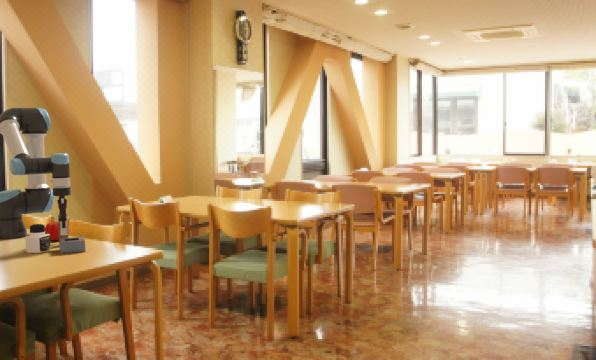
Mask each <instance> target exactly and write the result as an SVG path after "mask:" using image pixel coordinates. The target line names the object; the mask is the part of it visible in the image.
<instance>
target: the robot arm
mask: <svg viewBox="0 0 596 360" xmlns="http://www.w3.org/2000/svg"><path fill="white" fill-rule="evenodd" d="M51 123H52V122H51V117H50V115H49V113H48V111H47V110H46V109H45V108H41V107H40V108H39V107H11V108H8V109H6V110H4V111H2V113H1V114H0V134H1V135H2V137H3V139H4V142H5V144H6V147H7V149H8V152H9V153H10V157H11V159H10V160H9V170H10V173H11V174H12V175H14V176H26V175H27V184H26V185H25V187H24V191H22V190H21V189H20V188H15V189H14V188H13V189H7V190H2V191H0V239H1V240H3V239H4V240H5V239H16V238H23V237H26V236H27V235H28V230H27V228H26V226H25V223H24V221H23V215H31V214H43V213H48V212H50V211H51V210H52V209H53V207H54V204H55V203H54V202H55V197H58V199H57V202H56V203H57V207H58V209H59V215H60V219H59V221H60V228H61V235H67V218H66V215H67V216H68V214H67V207H68V205H67V204H68V200H67V198H65V197H67V196H68V197H69V196H71V194H72V193H71V192H72V191H71V187H70V186H71V172H70V170H71V169H70V155H69V154H68V153H64V152H63V153H62V152H61V153H52V154H51V156H48V157H45V156H46V153H45V137H46V136H47V134H48V132H50V130H51V127H52V126H51ZM23 137H24V138H23ZM24 139H25V141H24ZM47 174H48V175H49V174H51V178H52V179H51V180H50V182H51V183H52V189H50V187H51V186H49V184H48V183H47Z"/></svg>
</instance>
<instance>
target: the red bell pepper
mask: <svg viewBox="0 0 596 360" xmlns="http://www.w3.org/2000/svg"><path fill="white" fill-rule="evenodd" d="M44 234H50V241H59V226H58V221H52V222H51V223H50V222H49V223H47V224H46V225H45V233H44Z"/></svg>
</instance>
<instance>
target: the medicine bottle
mask: <svg viewBox="0 0 596 360" xmlns="http://www.w3.org/2000/svg"><path fill="white" fill-rule="evenodd" d="M45 227H46V225H45V224H43V223H34V224H31V225H30V226H29V235H28V236H27V235H26V236H24V237H25V253H28V254H43V253H45V252H49V251H50V250H51V240H50V234H45Z"/></svg>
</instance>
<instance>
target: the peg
mask: <svg viewBox="0 0 596 360" xmlns="http://www.w3.org/2000/svg"><path fill="white" fill-rule="evenodd" d="M66 218H67V235H61V228H60V221H59V219H60V214H59V215H57V220H58V221H57V222H58V226H59V239H60V238H69V222H68V221H69V219H68V214H67V215H66ZM58 241H59V240H58ZM58 244H59V245H60V241H59V242H58Z"/></svg>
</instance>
